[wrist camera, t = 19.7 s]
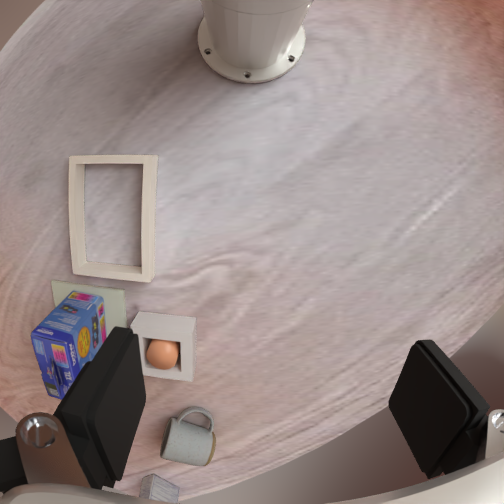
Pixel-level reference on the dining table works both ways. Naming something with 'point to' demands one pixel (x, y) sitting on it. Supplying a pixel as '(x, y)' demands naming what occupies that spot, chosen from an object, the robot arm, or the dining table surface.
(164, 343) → the release button
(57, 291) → the sage mat
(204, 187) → the dining table surface
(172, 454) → the ceramic mug
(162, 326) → the button housing
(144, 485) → the medicine box
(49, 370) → the ink cartridge box
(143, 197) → the cartridge cradle
